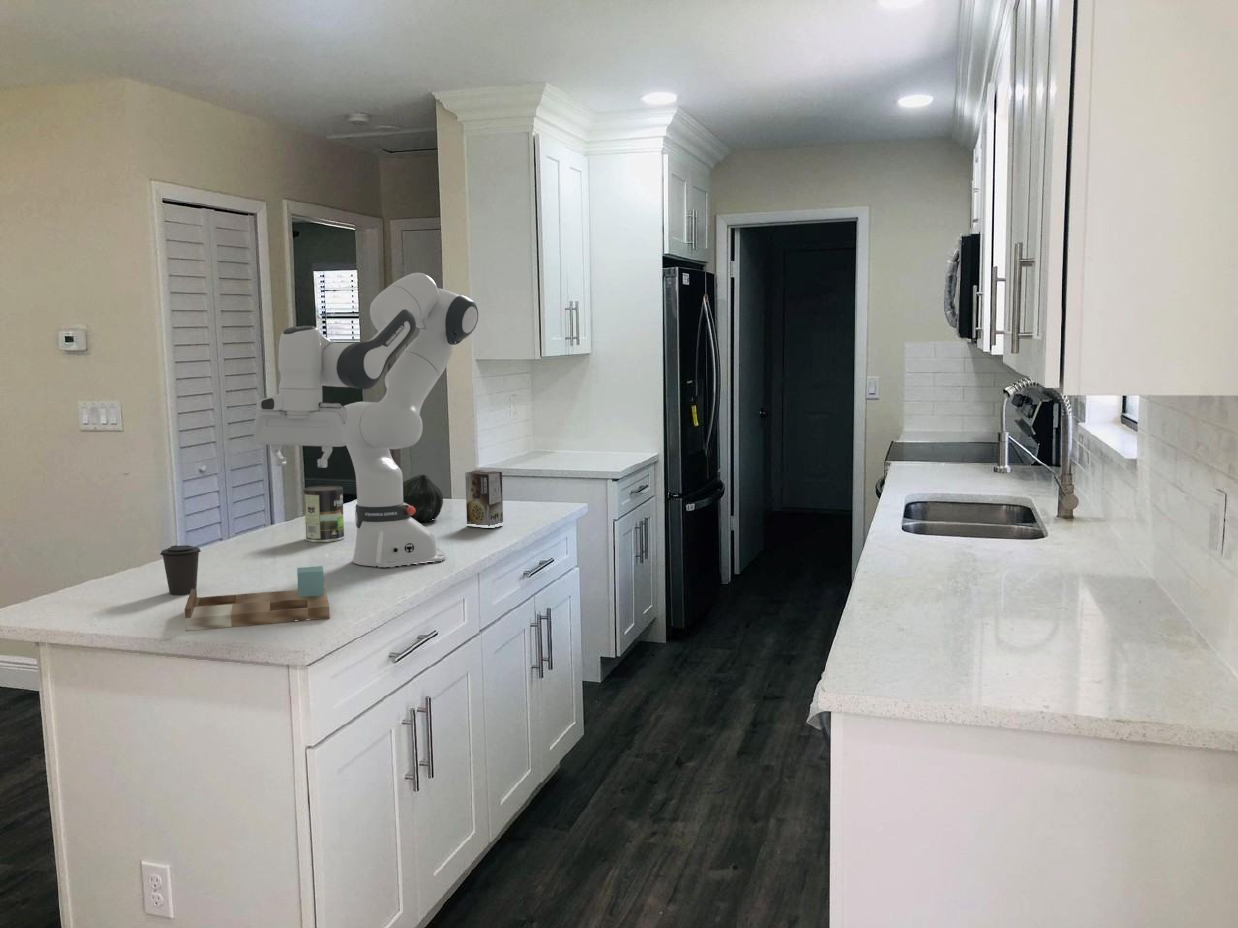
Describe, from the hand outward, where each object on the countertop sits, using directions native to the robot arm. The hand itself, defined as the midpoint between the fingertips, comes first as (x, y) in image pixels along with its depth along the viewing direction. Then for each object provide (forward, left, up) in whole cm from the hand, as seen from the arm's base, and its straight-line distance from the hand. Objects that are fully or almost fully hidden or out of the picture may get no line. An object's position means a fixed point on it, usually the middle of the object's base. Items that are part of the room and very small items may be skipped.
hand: (301, 466), depth 218 cm
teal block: (-1, +13, -25) cm, 28 cm away
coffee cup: (+25, -7, -27) cm, 38 cm away
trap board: (+9, +17, -27) cm, 33 cm away
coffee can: (-7, -58, -27) cm, 64 cm away
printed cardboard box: (-52, -62, -27) cm, 85 cm away
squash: (-35, -78, -27) cm, 89 cm away
